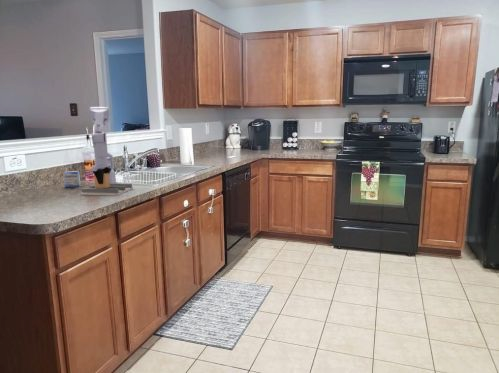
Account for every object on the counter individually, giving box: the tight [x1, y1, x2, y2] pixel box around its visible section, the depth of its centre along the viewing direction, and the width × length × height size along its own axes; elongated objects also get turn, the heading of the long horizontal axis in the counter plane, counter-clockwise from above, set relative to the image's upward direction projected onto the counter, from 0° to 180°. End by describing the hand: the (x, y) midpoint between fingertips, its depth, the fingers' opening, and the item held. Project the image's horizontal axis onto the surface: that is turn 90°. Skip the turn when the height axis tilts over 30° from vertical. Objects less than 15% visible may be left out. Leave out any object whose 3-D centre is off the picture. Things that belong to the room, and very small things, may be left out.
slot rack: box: [80, 183, 134, 196], centre depth 201 cm, size 17×20×3 cm
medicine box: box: [62, 170, 82, 188], centre depth 218 cm, size 8×4×9 cm, turn 105°
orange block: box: [93, 173, 110, 188], centre depth 197 cm, size 4×6×7 cm, turn 79°
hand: (103, 183), depth 197 cm, fingers closed on orange block, 4 cm apart
